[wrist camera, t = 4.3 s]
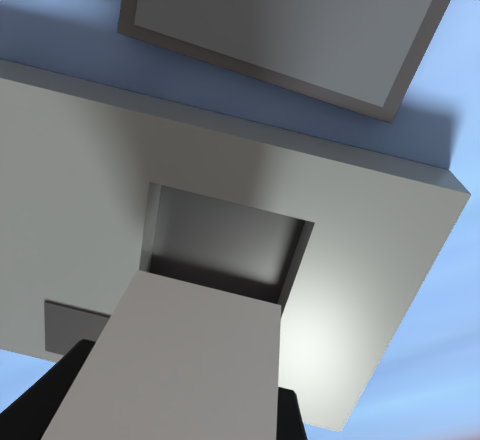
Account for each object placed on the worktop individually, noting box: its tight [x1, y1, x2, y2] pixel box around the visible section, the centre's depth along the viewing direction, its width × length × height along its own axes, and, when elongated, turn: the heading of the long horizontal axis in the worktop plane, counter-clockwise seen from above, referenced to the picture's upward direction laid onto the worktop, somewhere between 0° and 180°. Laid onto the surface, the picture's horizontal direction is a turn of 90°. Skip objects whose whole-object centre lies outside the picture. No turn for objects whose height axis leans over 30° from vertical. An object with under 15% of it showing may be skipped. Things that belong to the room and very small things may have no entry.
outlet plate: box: [0, 59, 471, 432], centre depth 16 cm, size 12×16×2 cm
